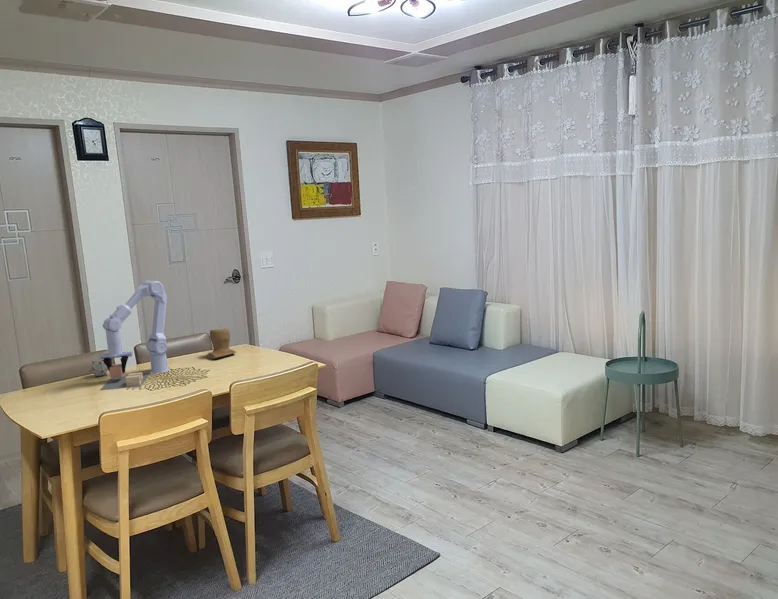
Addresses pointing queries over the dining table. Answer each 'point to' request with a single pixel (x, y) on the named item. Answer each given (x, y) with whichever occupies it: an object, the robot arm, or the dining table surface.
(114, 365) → the terracotta block
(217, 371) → the dining table surface
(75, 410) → the dining table surface
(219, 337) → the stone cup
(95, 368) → the game die
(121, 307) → the robot arm
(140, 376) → the maple block
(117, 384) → the mat
